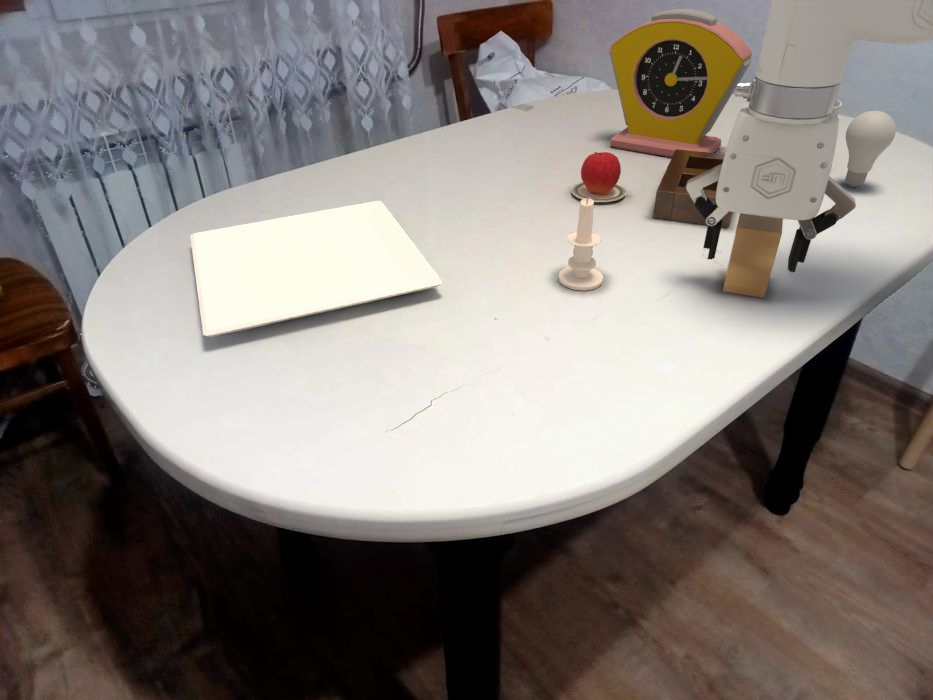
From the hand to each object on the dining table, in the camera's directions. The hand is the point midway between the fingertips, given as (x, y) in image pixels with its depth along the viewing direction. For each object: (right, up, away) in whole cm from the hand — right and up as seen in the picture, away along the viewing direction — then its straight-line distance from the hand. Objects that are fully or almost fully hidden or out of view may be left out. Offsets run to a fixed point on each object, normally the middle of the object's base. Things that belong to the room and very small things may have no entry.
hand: (750, 259), depth 74 cm
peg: (0, -3, +2) cm, 3 cm away
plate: (-51, 0, +8) cm, 52 cm away
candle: (-18, -2, +4) cm, 19 cm away
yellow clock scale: (+3, +25, +41) cm, 48 cm away
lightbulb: (+26, +14, +25) cm, 38 cm away
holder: (+2, +12, +22) cm, 26 cm away
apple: (-12, +13, +25) cm, 31 cm away
